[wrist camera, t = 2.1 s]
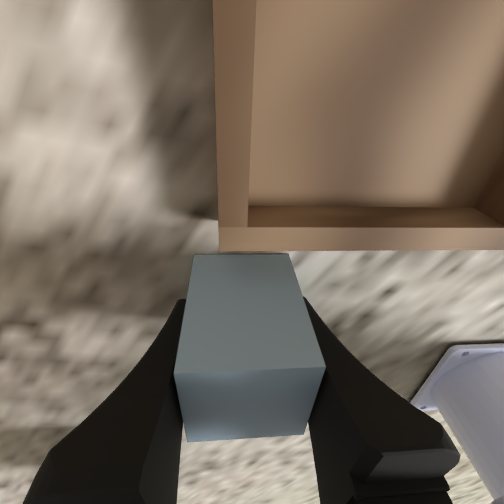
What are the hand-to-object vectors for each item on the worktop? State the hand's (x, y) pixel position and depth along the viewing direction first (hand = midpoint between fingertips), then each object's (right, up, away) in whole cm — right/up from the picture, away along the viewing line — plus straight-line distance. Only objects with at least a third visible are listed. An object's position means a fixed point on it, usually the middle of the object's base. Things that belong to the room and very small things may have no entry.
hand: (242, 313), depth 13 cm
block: (0, +1, +1) cm, 2 cm away
